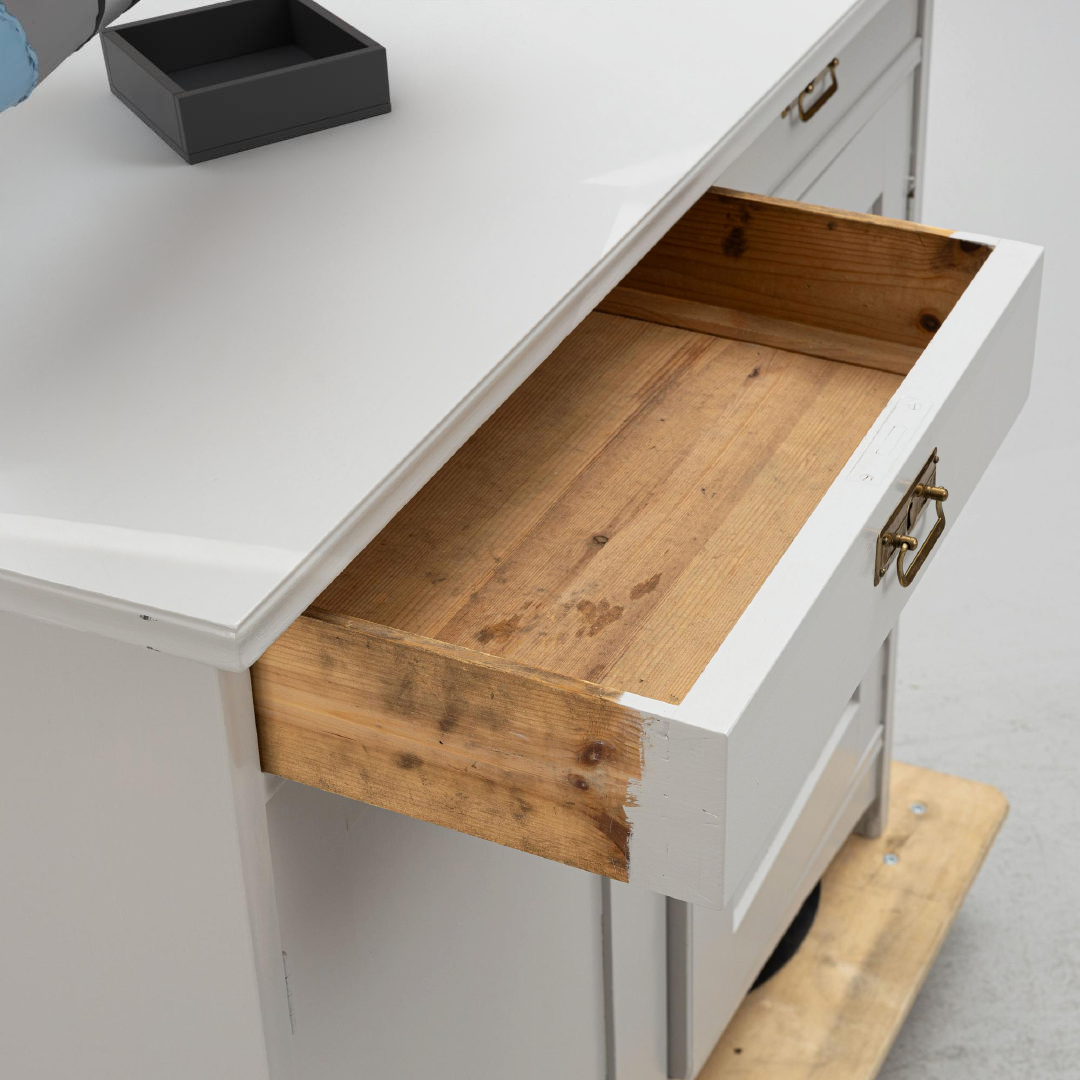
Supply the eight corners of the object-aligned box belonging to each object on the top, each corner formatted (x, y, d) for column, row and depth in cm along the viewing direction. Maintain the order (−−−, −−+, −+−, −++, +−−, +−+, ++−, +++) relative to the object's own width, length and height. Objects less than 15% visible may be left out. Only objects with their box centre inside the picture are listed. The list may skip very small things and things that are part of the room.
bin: (110, 91, 102) (97, 29, 99) (299, 46, 107) (292, -14, 105) (189, 164, 93) (178, 98, 90) (391, 111, 98) (386, 47, 96)
